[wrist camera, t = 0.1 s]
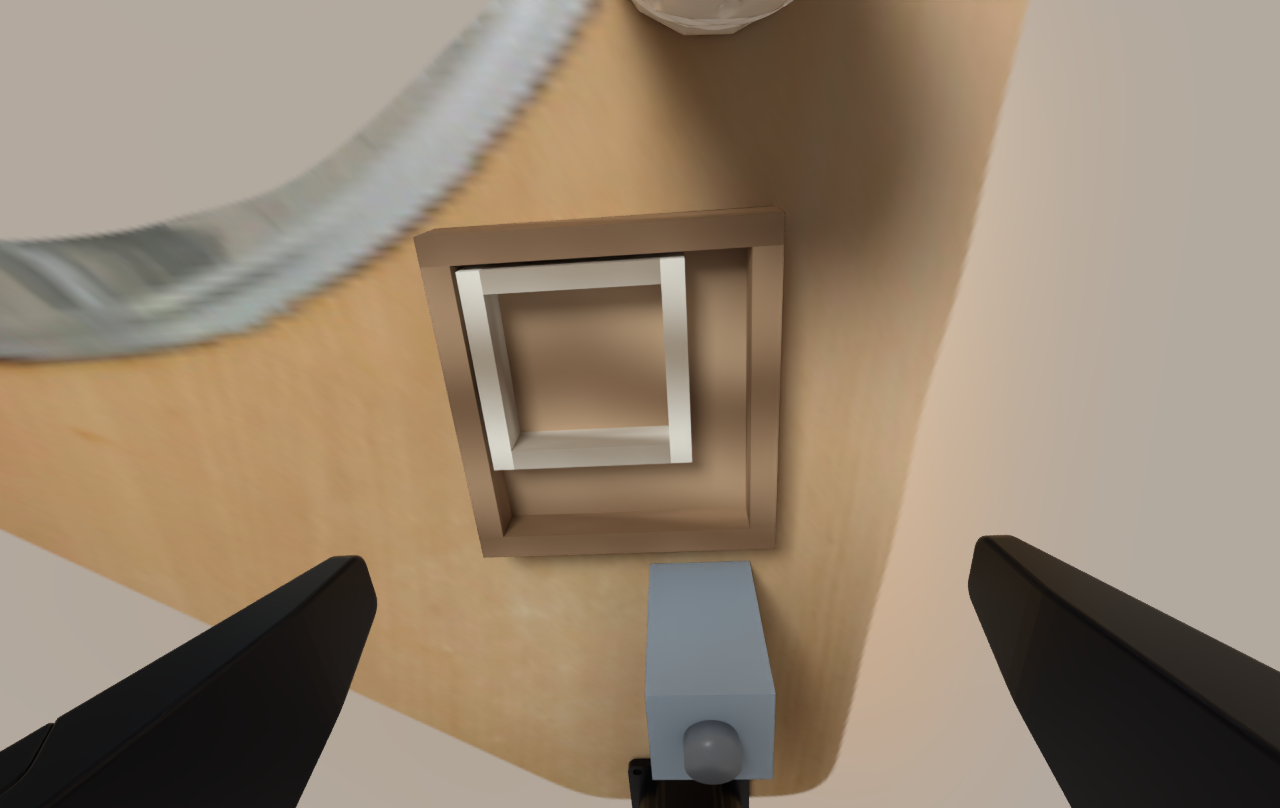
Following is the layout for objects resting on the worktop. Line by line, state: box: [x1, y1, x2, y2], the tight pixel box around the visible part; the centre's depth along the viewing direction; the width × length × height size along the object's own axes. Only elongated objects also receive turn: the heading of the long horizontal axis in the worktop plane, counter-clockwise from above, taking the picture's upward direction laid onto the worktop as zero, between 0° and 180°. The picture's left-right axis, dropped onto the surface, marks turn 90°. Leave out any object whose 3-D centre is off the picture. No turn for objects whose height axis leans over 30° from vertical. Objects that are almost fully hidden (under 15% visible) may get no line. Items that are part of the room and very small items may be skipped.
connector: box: [645, 561, 776, 785], centre depth 24 cm, size 4×4×8 cm
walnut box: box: [413, 206, 785, 558], centre depth 22 cm, size 13×12×2 cm
